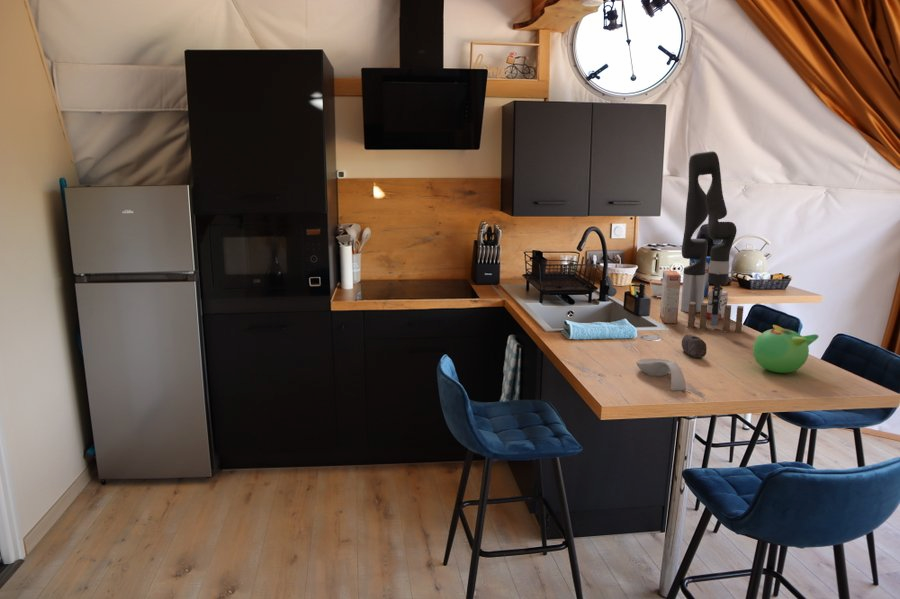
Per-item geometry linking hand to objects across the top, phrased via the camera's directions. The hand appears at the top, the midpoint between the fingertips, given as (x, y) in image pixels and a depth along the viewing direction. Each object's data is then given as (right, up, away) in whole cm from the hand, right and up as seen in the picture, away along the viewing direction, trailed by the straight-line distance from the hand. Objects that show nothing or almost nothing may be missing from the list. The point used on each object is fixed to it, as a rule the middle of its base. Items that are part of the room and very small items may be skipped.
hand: (715, 312), depth 265 cm
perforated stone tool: (-23, -14, -35) cm, 44 cm away
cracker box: (-13, -4, +17) cm, 22 cm away
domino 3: (0, -5, +1) cm, 5 cm away
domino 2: (-4, -6, +3) cm, 8 cm away
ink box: (+9, -3, +21) cm, 24 cm away
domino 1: (-8, -6, +5) cm, 11 cm away
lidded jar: (0, +7, +70) cm, 70 cm away
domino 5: (+8, -7, -3) cm, 11 cm away
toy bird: (-1, -18, -55) cm, 57 cm away
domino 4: (+4, -7, -1) cm, 8 cm away
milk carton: (+21, +7, +74) cm, 77 cm away
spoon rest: (-42, -20, -62) cm, 77 cm away
